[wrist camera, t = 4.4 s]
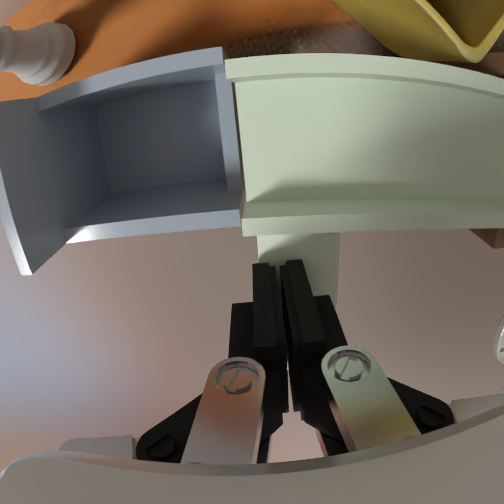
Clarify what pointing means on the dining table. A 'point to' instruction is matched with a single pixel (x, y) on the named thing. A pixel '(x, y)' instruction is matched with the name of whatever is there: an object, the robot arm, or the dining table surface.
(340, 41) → the dining table surface
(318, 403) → the robot arm
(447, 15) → the flower pot
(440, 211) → the lever
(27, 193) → the blue-grey box
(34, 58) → the rook chess piece
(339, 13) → the dining table surface
